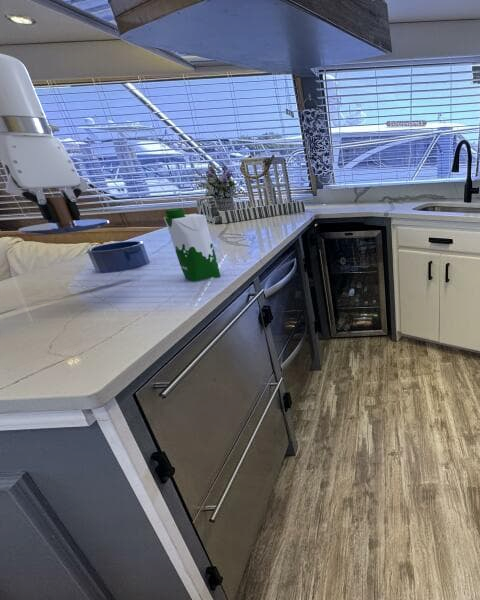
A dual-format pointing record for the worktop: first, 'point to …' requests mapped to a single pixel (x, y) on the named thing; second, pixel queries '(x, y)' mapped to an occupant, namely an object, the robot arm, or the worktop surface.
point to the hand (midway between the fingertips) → (64, 220)
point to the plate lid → (62, 220)
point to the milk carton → (192, 244)
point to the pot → (118, 256)
